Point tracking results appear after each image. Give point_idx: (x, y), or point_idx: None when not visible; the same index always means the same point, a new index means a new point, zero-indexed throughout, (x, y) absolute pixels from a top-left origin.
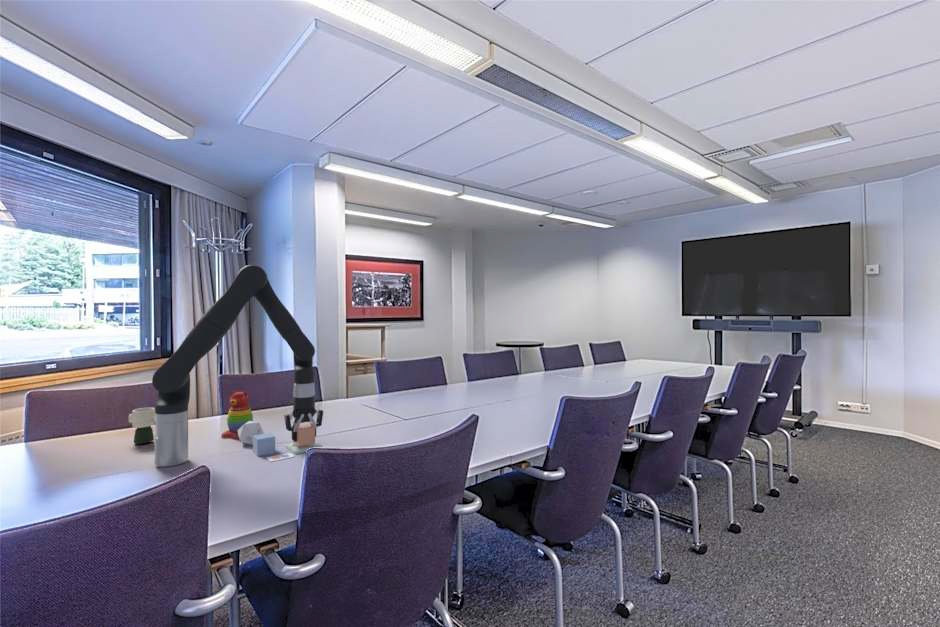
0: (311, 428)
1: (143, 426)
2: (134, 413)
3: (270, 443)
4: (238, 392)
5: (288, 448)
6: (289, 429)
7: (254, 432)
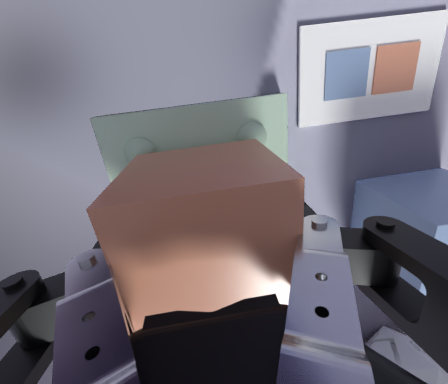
0: (138, 199)
1: None
2: None
3: (427, 199)
4: None
5: None
6: (394, 219)
7: (429, 376)
